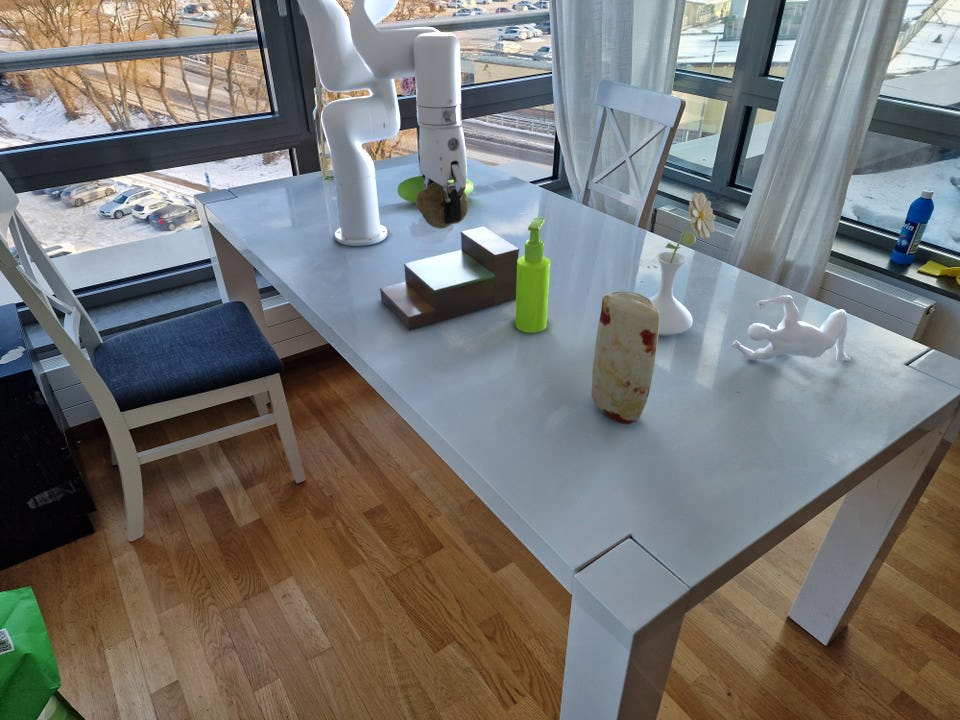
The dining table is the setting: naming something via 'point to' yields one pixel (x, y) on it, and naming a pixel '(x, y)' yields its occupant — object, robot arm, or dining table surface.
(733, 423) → the dining table surface
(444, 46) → the robot arm
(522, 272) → the soap dispenser
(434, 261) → the step shelf
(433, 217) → the fossil
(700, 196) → the flower in vase
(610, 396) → the food model
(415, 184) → the green rounded oblong
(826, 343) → the person figurine
